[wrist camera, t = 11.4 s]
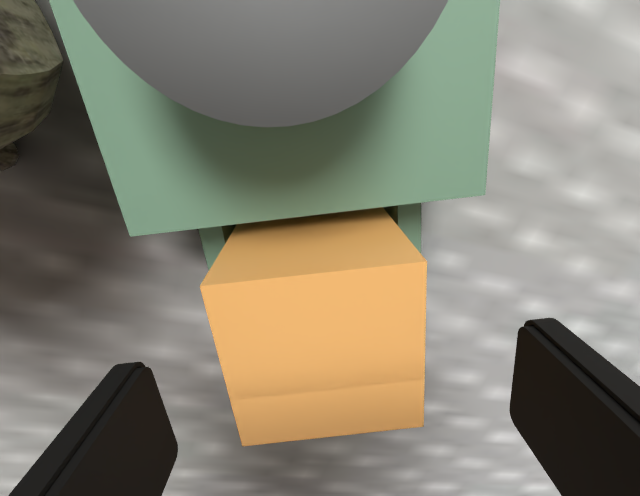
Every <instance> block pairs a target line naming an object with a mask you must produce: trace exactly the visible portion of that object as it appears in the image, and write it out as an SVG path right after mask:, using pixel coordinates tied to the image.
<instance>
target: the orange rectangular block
mask: <svg viewBox="0 0 640 496" xmlns="http://www.w3.org/2000/svg"><path fill="white" fill-rule="evenodd" d="M426 279H427V261H426V260H425V258H424V257H423V256H422V255H421V254H420V252H419V251H418V250H417V249H416V247H415V246H414V245H413V244H412V243H411V241H410V240H409V239H408V238H407V236H406V235H405V234H404V233H403V231H402V230H401V229H400V228H399V227H398V225H397V224H396V223H395V222H394V220H393V219H392V218H391V217H390V216H389V214H388V213H387V212H386V211H385V209H384V208H383V207H379V208H370V209H362V210H353V211H345V212H336V213H328V214H319V215H311V216H302V217H294V218H285V219H277V220H268V221H260V222H251V223H243V224H237V225H236V227H235V228H234V230H233V232H232V233H231V235H230V237H229V238H228V240H227V242H226V243H225V245H224V247H223V248H222V250H221V252H220V253H219V255H218V257H217V258H216V260H215V262H214V263H213V265H212V267H211V268H210V270H209V272H208V273H207V275H206V277H205V278H204V280H203V282H202V283H201V285H200V289H201V293H202V297H203V300H204V304H205V308H206V312H207V315H208V319H209V323H210V327H211V330H212V334H213V338H214V342H215V345H216V349H217V353H218V357H219V361H220V364H221V368H222V372H223V376H224V379H225V383H226V387H227V391H228V394H229V398H230V402H231V406H232V409H233V413H234V417H235V421H236V424H237V428H238V432H239V436H240V439H241V443H242V446H251V445H260V444H269V443H278V442H287V441H296V440H305V439H314V438H324V437H333V436H342V435H351V434H360V433H369V432H378V431H387V430H396V429H406V428H415V427H424V379H425V329H426Z"/></svg>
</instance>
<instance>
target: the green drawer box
mask: <svg viewBox="0 0 640 496" xmlns="http://www.w3.org/2000/svg"><path fill="white" fill-rule="evenodd" d="M49 2H50V5H51V8H52V11H53V13H54V16H55V19H56V22H57V25H58V28H59V31H60V34H61V37H62V40H63V43H64V46H65V49H66V51H67V54H68V57H69V60H70V63H71V66H72V69H73V72H74V75H75V78H76V81H77V84H78V86H79V89H80V92H81V95H82V98H83V101H84V104H85V107H86V110H87V113H88V116H89V119H90V121H91V124H92V127H93V130H94V133H95V136H96V139H97V142H98V145H99V148H100V151H101V154H102V156H103V159H104V162H105V165H106V168H107V171H108V174H109V177H110V180H111V183H112V186H113V189H114V191H115V194H116V197H117V200H118V203H119V206H120V209H121V212H122V215H123V218H124V221H125V224H126V226H127V229H128V232H129V235H130V237H132V236H140V235H149V234H157V233H166V232H174V231H183V230H192V229H198V231H199V234H200V238H201V242H202V246H203V250H204V254H205V258H206V261H207V265H208V269H209V270H210V268H211V267H212V265H213V263H214V262H215V260H216V258H217V257H218V255H219V253H220V252H221V250H222V248H223V247H224V245H225V243H226V242H227V240H228V238H229V237H230V235H231V233H232V232H233V230H234V228H235V227H236V225H237V224H243V223H251V222H260V221H268V220H277V219H285V218H294V217H302V216H311V215H319V214H328V213H336V212H345V211H353V210H362V209H370V208H379V207H383V208H384V209H385V211H386V212H387V213H388V214H389V216H390V217H391V218H392V219H393V220H394V222H395V223H396V224H397V225H398V227H399V228H400V229H401V230H402V231H403V233H404V234H405V235H406V236H407V238H408V239H409V240H410V241H411V243H412V244H413V245H414V246H415V247H416V249H417V250H418V251H419V252H420V254H421V203H422V202H430V201H439V200H447V199H456V198H464V197H473V196H481V195H485V190H486V177H487V164H488V151H489V138H490V125H491V112H492V99H493V86H494V72H495V59H496V46H497V33H498V20H499V7H500V0H49Z"/></svg>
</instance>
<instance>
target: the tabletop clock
mask: <svg viewBox="0 0 640 496" xmlns="http://www.w3.org/2000/svg"><path fill="white" fill-rule="evenodd" d="M62 64H63V58H62V55H61V53H60V50H59V48H58V45H57V43H56V40H55V38H54V36H53V33H52V31H51V29H50V27H49V25H48V23H47V21H46V19H45V18H44V16H43V14H42V12H41V10H40V8H39V7H38V5H37V3H36V2H35V0H0V171H2V170H5V169H7V168H9V167H12V166H14V165H15V163H16V161H17V159H18V157H19V154H18V151H17V149H16V146H15V144H13V143H12V142H14V141H16V140H18V139H19V138H21V137H23V136H25V135H26V134H28V133H30V132H32V131H33V130H34V129H35V128H36V127H37V126H38V125H39V124H40V123H41V122H42V120H43V119H44V118H45V117H46V116H47V115H48V114H49V113H50V110H51V106H52V102H53V98H54V95H55V91H56V87H57V83H58V79H59V76H60V72H61V68H62Z"/></svg>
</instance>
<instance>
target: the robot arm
mask: <svg viewBox="0 0 640 496" xmlns="http://www.w3.org/2000/svg"><path fill="white" fill-rule="evenodd" d="M510 415H511V419H512V421H513V423H514V425H515V427H516V428H517V430H518V431H519V433H520V434H521V436H522V437H523V439H524V440H525V441H526V443H527V444H528V446H529V447H530V449H531V450H532V452H533V453H534V455H535V456H536V458H537V459H538V461H539V462H540V464H541V465H542V467H543V468H544V470H545V471H546V473H547V474H548V476H549V477H550V479H551V480H552V482H553V483H554V485H555V486H556V488H557V489H558V491H559V492H560V494H561V495H562V496H640V386H638V385H637V384H636V383H635V382H633V381H632V380H631V379H630V378H628V377H627V376H626V375H625V374H623V373H622V372H621V371H620V370H618V369H617V368H616V367H615V366H613V365H612V364H611V363H610V362H609V361H607V360H606V359H605V358H604V357H602V356H601V355H600V354H599V353H597V352H596V351H595V350H594V349H592V348H591V347H590V346H589V345H587V344H586V343H585V342H584V341H582V340H581V339H580V338H579V337H577V336H576V335H575V334H574V333H572V332H571V331H570V330H569V329H567V328H566V327H565V326H564V325H563V324H561V323H560V322H559V321H558V320H556V319H554V318H545V319H535V320H528V321H526V322H525V324H524V327H521V328H520V329H519V331H518V338H517V347H516V356H515V365H514V374H513V382H512V391H511V400H510ZM177 452H178V445H177V441H176V438H175V435H174V433H173V430H172V427H171V424H170V421H169V418H168V415H167V413H166V410H165V407H164V404H163V401H162V398H161V396H160V393H159V390H158V387H157V384H156V381H155V378H154V376H153V373H152V370H151V369H150V368H149V367H145V365H144V364H143V363H142V362H134V363H124V364H117V365H115V366H114V367H113V368H112V369H111V370H110V371H109V373H108V374H107V375H106V376H105V377H104V379H103V380H102V381H101V382H100V384H99V385H98V386H97V387H96V389H95V390H94V391H93V392H92V393H91V395H90V396H89V397H88V398H87V400H86V401H85V402H84V403H83V405H82V406H81V407H80V408H79V409H78V411H77V412H76V413H75V414H74V416H73V417H72V418H71V419H70V421H69V422H68V423H67V424H66V425H65V427H64V428H63V429H62V430H61V432H60V433H59V434H58V435H57V437H56V438H55V439H54V440H53V441H52V443H51V444H50V445H49V446H48V448H47V449H46V450H45V451H44V453H43V454H42V455H41V456H40V457H39V459H38V460H37V461H36V462H35V464H34V465H33V466H32V467H31V469H30V470H29V471H28V472H27V473H26V475H25V476H24V477H23V478H22V480H21V481H20V482H19V483H18V485H17V486H16V487H15V488H14V489H13V491H12V492H11V493H10V494H9V496H161V495H162V493H163V491H164V488H165V486H166V483H167V481H168V478H169V476H170V473H171V471H172V468H173V466H174V463H175V461H176V458H177Z"/></svg>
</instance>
